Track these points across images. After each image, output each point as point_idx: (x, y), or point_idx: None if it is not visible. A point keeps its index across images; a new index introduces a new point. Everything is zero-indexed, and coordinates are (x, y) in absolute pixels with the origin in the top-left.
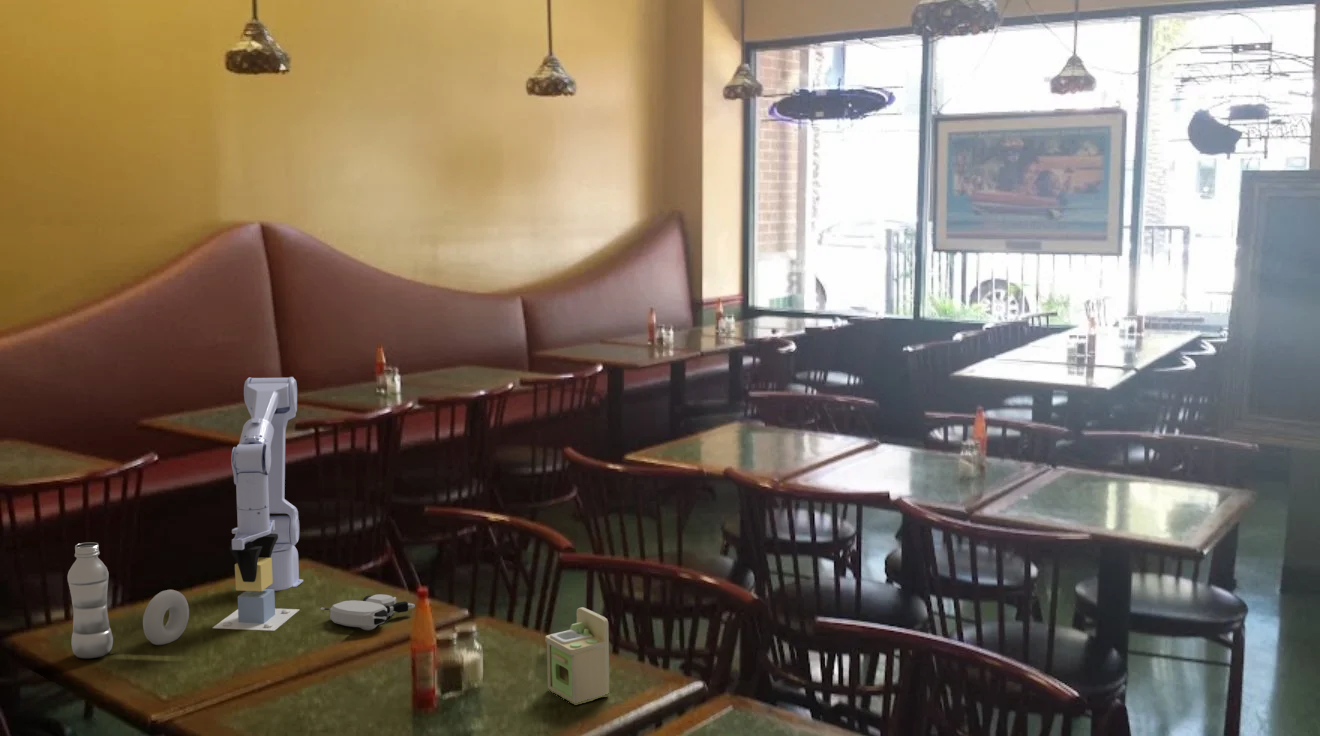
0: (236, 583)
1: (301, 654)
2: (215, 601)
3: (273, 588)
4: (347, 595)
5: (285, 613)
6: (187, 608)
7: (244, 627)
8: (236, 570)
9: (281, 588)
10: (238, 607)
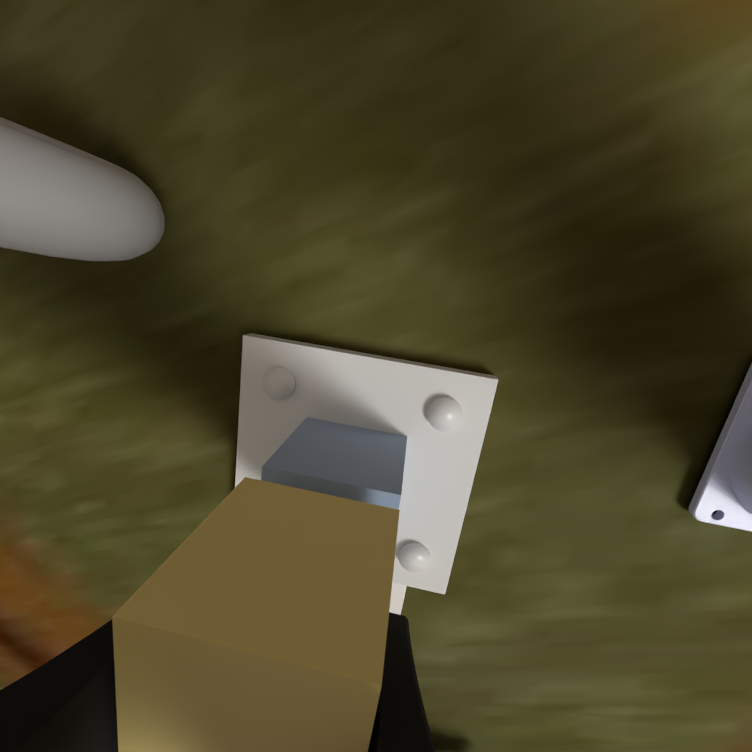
0: (221, 506)
1: (105, 616)
2: (669, 215)
3: (743, 475)
4: (636, 704)
5: (398, 556)
6: (62, 257)
7: (254, 449)
8: (158, 579)
9: (746, 504)
10: (284, 443)
